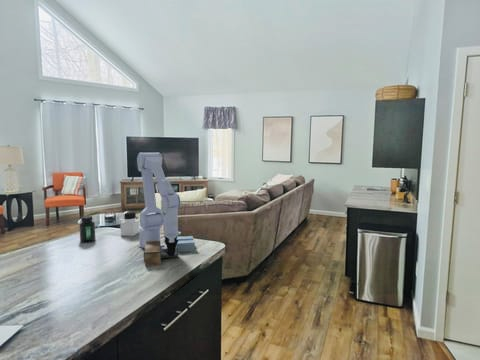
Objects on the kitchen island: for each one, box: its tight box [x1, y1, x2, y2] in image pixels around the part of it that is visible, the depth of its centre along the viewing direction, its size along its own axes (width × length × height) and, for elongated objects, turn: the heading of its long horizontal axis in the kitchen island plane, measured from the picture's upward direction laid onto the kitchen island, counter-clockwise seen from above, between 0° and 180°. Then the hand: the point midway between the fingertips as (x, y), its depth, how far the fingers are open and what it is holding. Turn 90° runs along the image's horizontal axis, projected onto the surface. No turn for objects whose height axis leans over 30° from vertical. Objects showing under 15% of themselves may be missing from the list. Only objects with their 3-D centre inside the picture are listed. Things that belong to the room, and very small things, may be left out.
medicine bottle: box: [119, 210, 140, 237], centre depth 168 cm, size 7×7×12 cm
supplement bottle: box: [78, 215, 96, 244], centre depth 156 cm, size 7×7×12 cm
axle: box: [143, 248, 179, 261], centre depth 134 cm, size 14×4×4 cm, turn 104°
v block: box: [176, 235, 196, 253], centre depth 148 cm, size 8×10×4 cm
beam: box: [144, 240, 162, 267], centre depth 133 cm, size 6×14×6 cm, turn 14°
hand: (171, 253), depth 135 cm, fingers closed on axle, 4 cm apart
